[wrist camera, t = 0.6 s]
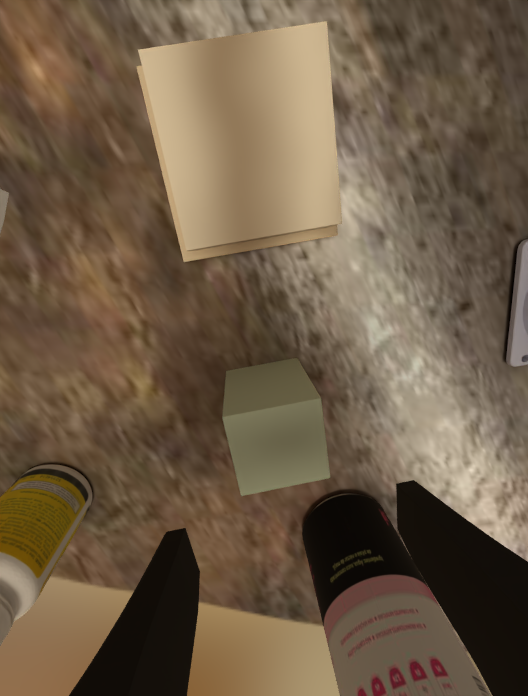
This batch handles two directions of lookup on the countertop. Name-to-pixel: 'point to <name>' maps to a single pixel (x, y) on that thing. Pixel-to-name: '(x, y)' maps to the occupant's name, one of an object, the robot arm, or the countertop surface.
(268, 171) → the tan square tile
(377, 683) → the beverage can
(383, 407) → the countertop surface
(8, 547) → the supplement bottle
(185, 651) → the robot arm
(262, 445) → the green block
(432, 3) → the countertop surface
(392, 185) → the countertop surface
